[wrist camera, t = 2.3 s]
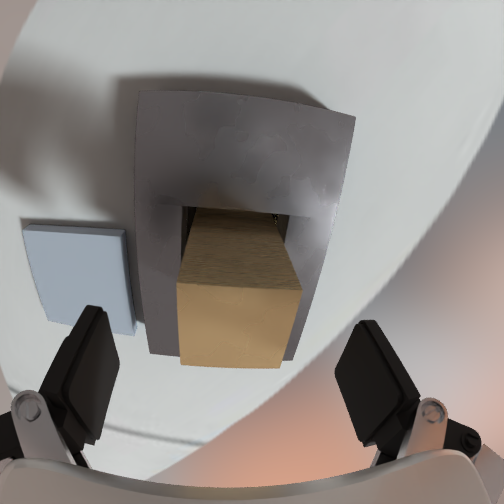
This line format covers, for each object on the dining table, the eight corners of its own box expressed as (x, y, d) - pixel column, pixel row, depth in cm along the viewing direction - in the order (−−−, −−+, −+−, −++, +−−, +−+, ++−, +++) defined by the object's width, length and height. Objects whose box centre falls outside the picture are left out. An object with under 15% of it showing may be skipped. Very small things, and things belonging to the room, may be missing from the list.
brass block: (198, 202, 15) (176, 282, 8) (268, 208, 16) (302, 290, 9) (195, 263, 17) (180, 364, 10) (259, 267, 18) (279, 368, 11)
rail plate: (153, 94, 12) (139, 91, 10) (337, 115, 13) (355, 116, 11) (155, 329, 19) (149, 353, 17) (286, 336, 21) (292, 360, 19)
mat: (29, 224, 15) (22, 230, 14) (125, 229, 16) (120, 236, 15) (53, 313, 18) (48, 320, 17) (137, 327, 19) (134, 335, 18)
